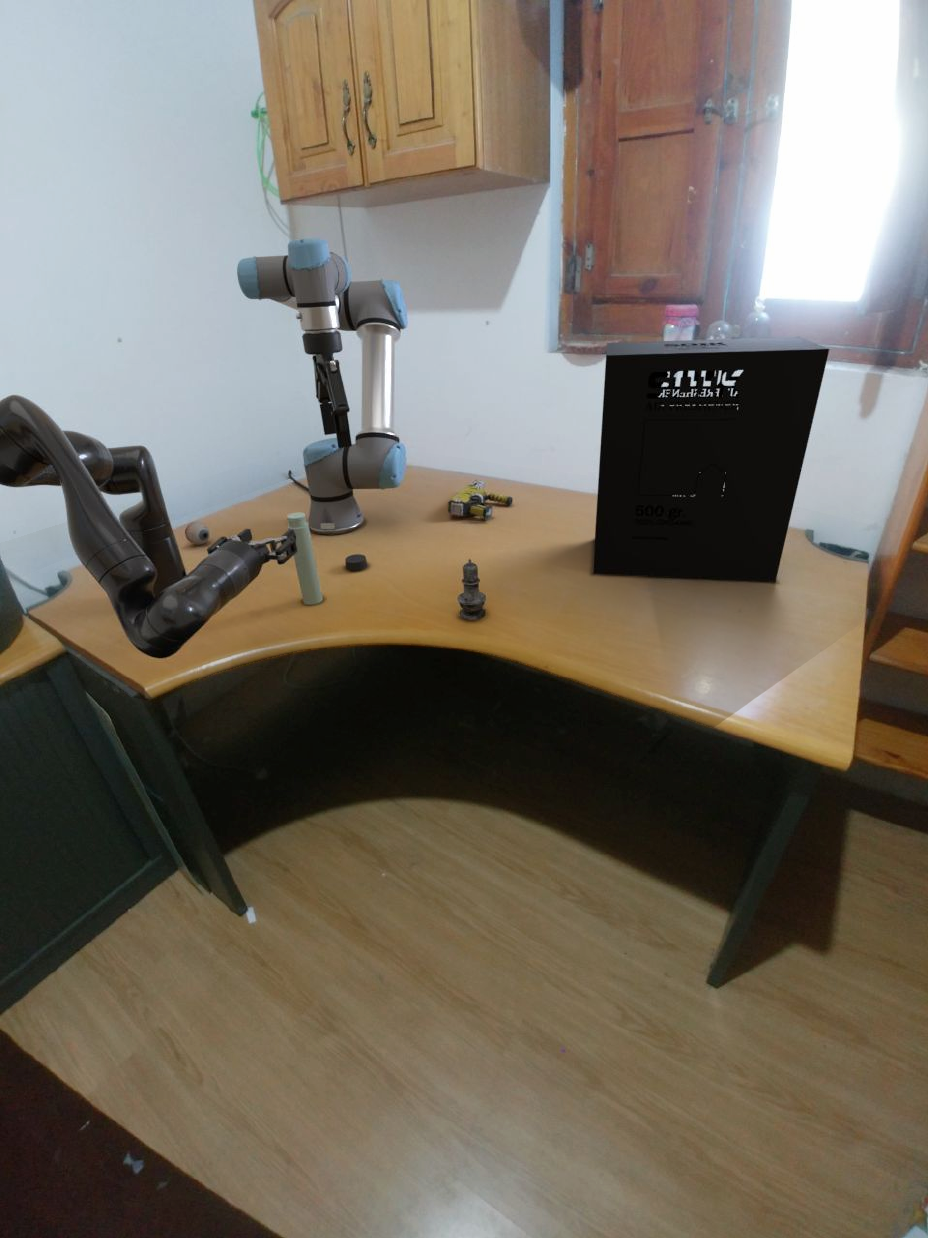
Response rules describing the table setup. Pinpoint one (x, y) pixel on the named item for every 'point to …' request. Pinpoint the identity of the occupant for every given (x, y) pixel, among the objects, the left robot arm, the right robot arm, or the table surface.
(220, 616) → the table surface
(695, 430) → the black angular block
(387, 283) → the right robot arm
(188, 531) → the eyeball
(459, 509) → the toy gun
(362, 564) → the lid
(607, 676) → the table surface
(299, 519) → the bottle
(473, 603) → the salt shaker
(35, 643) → the table surface
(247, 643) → the table surface
